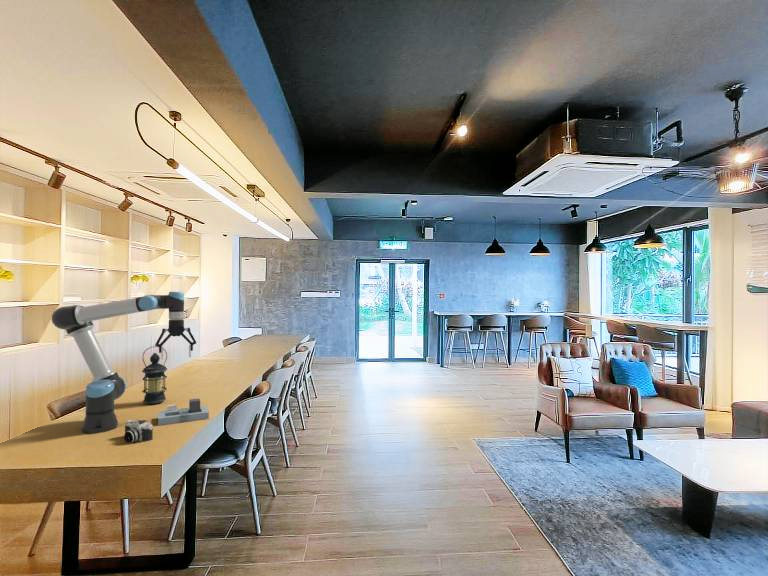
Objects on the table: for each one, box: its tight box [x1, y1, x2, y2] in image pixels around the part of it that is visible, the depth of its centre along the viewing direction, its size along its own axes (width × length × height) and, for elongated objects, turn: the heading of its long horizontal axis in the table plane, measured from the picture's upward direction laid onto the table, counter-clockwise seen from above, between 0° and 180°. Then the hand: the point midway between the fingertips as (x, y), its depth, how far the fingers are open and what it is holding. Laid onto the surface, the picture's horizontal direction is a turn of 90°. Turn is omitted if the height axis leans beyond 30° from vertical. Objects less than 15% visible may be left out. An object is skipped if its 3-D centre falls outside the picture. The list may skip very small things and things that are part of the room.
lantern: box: [141, 345, 168, 405], centre depth 250 cm, size 14×13×35 cm
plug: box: [188, 398, 201, 413], centre depth 222 cm, size 5×5×10 cm
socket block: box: [157, 404, 210, 426], centre depth 220 cm, size 24×14×7 cm, turn 119°
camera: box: [123, 419, 154, 444], centre depth 189 cm, size 16×9×10 cm, turn 70°
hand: (176, 357), depth 224 cm, fingers open, 13 cm apart
